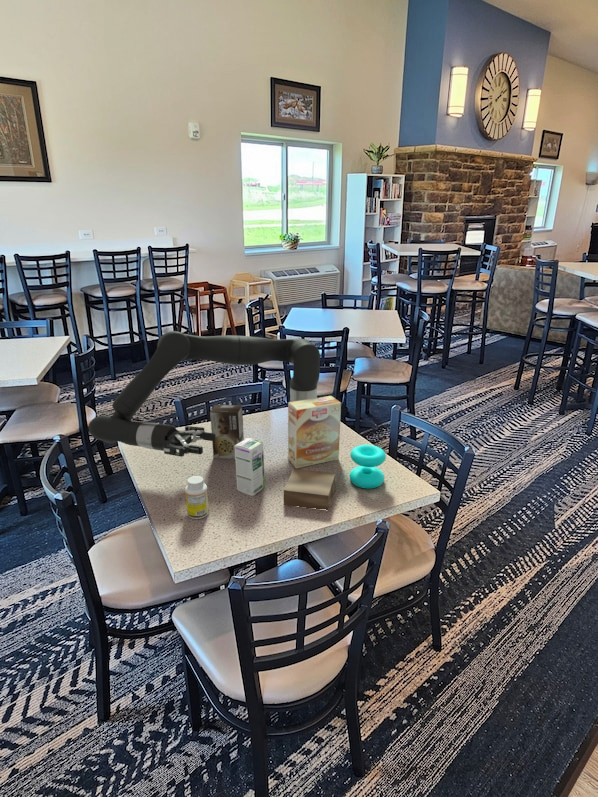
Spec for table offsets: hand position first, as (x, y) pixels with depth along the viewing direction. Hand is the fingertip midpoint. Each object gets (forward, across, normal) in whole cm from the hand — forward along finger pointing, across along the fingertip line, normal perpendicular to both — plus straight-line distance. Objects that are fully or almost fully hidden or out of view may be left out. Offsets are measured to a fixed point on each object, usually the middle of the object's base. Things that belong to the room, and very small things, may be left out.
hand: (209, 443), depth 138 cm
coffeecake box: (+25, +22, +13) cm, 36 cm away
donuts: (+43, +13, +12) cm, 47 cm away
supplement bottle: (+3, -15, +13) cm, 20 cm away
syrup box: (+12, 0, +13) cm, 18 cm away
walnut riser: (+29, +1, +13) cm, 32 cm away
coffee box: (-2, +18, +13) cm, 22 cm away
